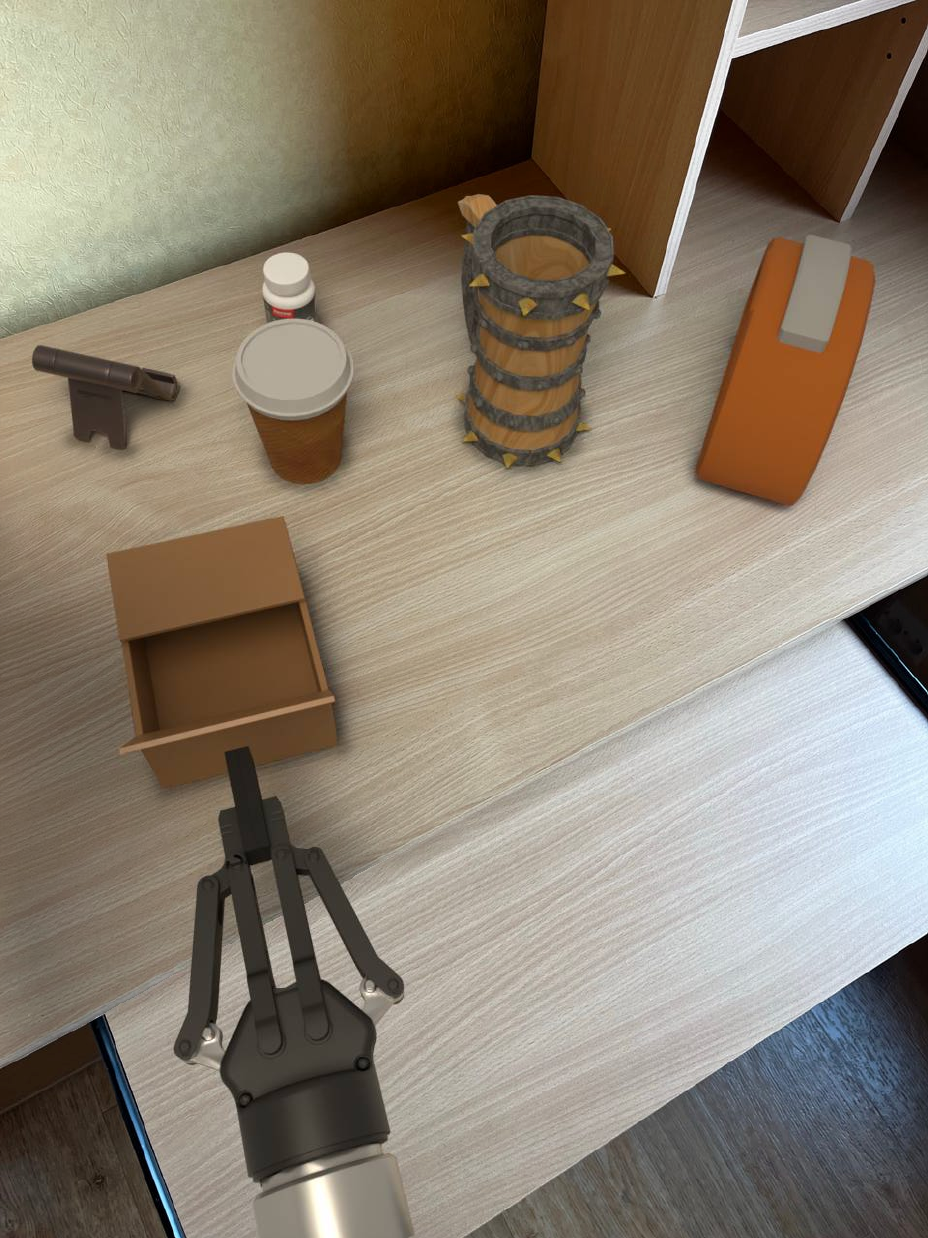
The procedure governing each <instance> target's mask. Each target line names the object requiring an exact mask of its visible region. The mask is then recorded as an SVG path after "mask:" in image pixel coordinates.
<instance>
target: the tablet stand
mask: <svg viewBox="0 0 928 1238" xmlns="http://www.w3.org/2000/svg"><path fill="white" fill-rule="evenodd" d="M31 365H32V368H33V369H34V370H35V371H36V372H40V373H45V374H49V375H53V376H57V377H62V378H66V379H67V383H68V391H69V392H68V393H69V401H70V411H71V421H72V431H73V437H74V438H75V439H76V440H78V441H81V442H85V443H90V442H91V440H90V439H91V431H94V432H98V433H103V434H105V435H106V436H107V439H108V444H109V447H110V448H111V449H115V450H119V451H121V450H125V448H126V446H127V444H126V429H125V418H124V417H125V416H124V414H125V413H124V401H123V391H124V392H129V393H133V394H139V395H144V396H148V397H153V398H155V399H158V400H161V401H169V402H170V401H171V402H173V401H175V400H176V399H177V398H176V397H177V396H178V393H179V382H178V380H177V377H176V374H173V373H169V372H164V371H159V370H155V369H150V368H146V367H142V368H141V367H140V366H138V365H133V364H128V363H124V362H118V361H115V360H110V359H106V358H102V357H97V356H92V355H87V354H83V353H79V352H74V351H69V350H65V349H61V348H57V347H51V346H48V345H43V344H39V345H36V346H35V348H34V350H33V352H32V356H31Z"/></svg>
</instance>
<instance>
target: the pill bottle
mask: <svg viewBox="0 0 928 1238" xmlns="http://www.w3.org/2000/svg"><path fill="white" fill-rule="evenodd" d="M262 272H263V280H264V281H263V284H262V287H261V288H262V289H261V292H262V293H261V295H262V299H263V301H262V302H263V307H264V312H265V320H266V324H267V323H270V322H273V321H277V320H282V319H305V320H310V321H314V322H317V323H319V314H318V304H317V293H316V287H315V283H314V280H313V279H312V277H311V271H310V266H309V263H308V261H307V260H306V259H305V258H304V257H303V256H302V255H300V254H299V253H298V254H297V253H294V252H290V251H289V252H286V251H285V252H279V253H276V254H273V255H272V256H270V257H269V258H268V259H267V260H266V261H265V262H264V264H263V267H262Z"/></svg>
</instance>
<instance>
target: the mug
mask: <svg viewBox="0 0 928 1238" xmlns="http://www.w3.org/2000/svg"><path fill="white" fill-rule="evenodd" d="M457 204H458V207H459V210H460V213H461V216H462V217H464V219H465V220H466V231H465V234H462V235H461V234H460V236H461V238H463V239H465V240H464V247H463V252H462V253H463V254H462V261H461V274H460V278H461V279H460V280H461V281H460V282H461V295H462V307H463V312H464V319H465V326H466V330H467V335H468V340H469V342H470V352H471V353H472V354H474V355H475V356H476V360H475V362H474V363H473V365H472V364H471V365H469V366H468V367H467V369H466V373H467V374H468V375H469V380H468V381H469V382H468V390H467V392H466V393H463V394H454V396H455V397H456V398H458V399H459V400H460V401H461V402H463V403H464V416H463V417H464V418H463V428H464V431H465V432H466V435H465V436H464V437H463V439H462V440H461V442H470V444H472V446H474V447H475V448H476V449H477V450H478V451H479V452H481V453H482V454H483V455H484V456H485V457H486V458H489V459H491V460H492V461H493V460H494V461H496V462H498V463H500V464H504V465H505V468H506V469H508V468H509V467H510V466H511V467H527V468H528V467H530V468H532V467H537V466H541V465H543V464H549V463H551V462H554V461H557V462H559V463H561V464H562V462H563V461H562V457H561V456H563V455H564V454H565V453H566V452H567V451H569V450H570V449H571V447H572V446H573V444H574V442H575V440H576V438H577V436H578V434H579V432H580V431H586V430H592V428H591V427H590V426H588V425H587V424H585V423H584V422H582V421H581V420H582V410H581V409H582V405H581V400H582V399H583V398H585V396H586V389H584V388H583V387H582V375H581V374H582V373H583V371H584V367H583V365H584V363H585V361H586V357H587V352H588V344H589V343H590V342H591V339H592V338H591V337H592V336H591V335H590V334H589V333H588V331H589V329H590V326H591V325H592V323H593V321H594V320H598V319H600V318H601V316H602V310H601V309H600V300H601V298H602V296H603V294H604V292H605V290H606V289H607V287H608V285H609V283H610V277H613V276H619V275H624V274H626V272H625V271H624V270H623V269H620V268H619V267H618V266H616V265H614V264H613V263H614V258H615V250H614V247H615V246H614V236H613V235H612V233H611V230H612V227H611V228H610V227H607V225H606V223H605V222H604V220H603V219H602V218H601V217H599V216H598V215H597V214H595V212H593V211H591V210H590V209H589V208H587V207H586V206H584V205H582V204H580V203H577V202H574V201H571V200H568V199H566V198H562V197H559V196H551V195H550V196H549V195H534V194H533V195H532V194H530V195H525V196H520V197H516V198H511V199H506V200H504V201H502V202H500V203H498V204H497V203H496V202H495V201H494V200H493V198H492V197H491V196H490V195H487V194H482V193H481V194H479V193H478V194H474V195H465V197H464V198H463V199H461V200H458V201H457Z"/></svg>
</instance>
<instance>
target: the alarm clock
mask: <svg viewBox="0 0 928 1238" xmlns="http://www.w3.org/2000/svg"><path fill="white" fill-rule="evenodd" d="M875 286H876V275H875V267H874V264H873V263H872V262H870V260H867V259H864V258H861V257H858V256H857V257H856V256H852V246H851V245H850V244H849V243H845V242H841V241H837V240H833V239H829V238H826V237H822V236H818V235H814V234H808V235H806V236H805V238H804V241H803V242H799V241H796V240H791V239H787V238H784V237H781V236H780V237H773V238H772V239H771V240H770V241H769V242H768V243H767V246H766V248H765V250H764V253H763V256H762V258H761V261H760V263H759V266H758V269H757V271H756V275H755V277H754V280H753V282H752V286H751V289H750V290H749V294H748V297H747V300H746V303H745V305H744V309H743V312H742V315H741V318H740V322H739V324H738V328H737V331H736V335H735V338H734V341H733V344H732V347H731V351H730V354H729V358H728V361H727V364H726V367H725V370H724V374H723V377H722V379H721V384H720V386H719V391H718V394H717V397H716V401H715V403H714V407H713V410H712V412H711V416H710V420H709V422H708V427H707V430H706V433H705V436H704V439H703V441H702V446H701V449H700V451H699V452H700V453H699V456H698V459H697V462H696V465H695V472H696V477H697V478H698V479H700V480H702V481H705V482H708V483H711V484H715V485H718V486H722V487H725V488H729V489H732V490H735V491H739V492H742V493H745V494H749V495H752V496H756V497H760V498H763V499H766V500H770V501H773V502H776V503H779V504H782V505H786V506H794V505H795V504H796V503H797V502H798V501H799V500H800V499H801V497H802V496H803V494H804V492H805V490H806V489H807V487H808V485H809V483H810V481H811V479H812V477H813V475H814V473H815V472H816V469H817V468H818V465H819V463H820V460H821V457H822V455H823V453H824V451H825V448H826V446H827V444H828V442H829V438H830V436H831V434H832V431H833V428H834V426H835V423H836V420H837V418H838V416H839V413H840V410H841V408H842V405H843V401H844V399H845V396H846V394H847V390H848V387H849V384H850V381H851V379H852V375H853V373H854V369H855V366H856V363H857V359H858V357H859V352H860V350H861V346H862V344H863V340H864V337H865V336H864V335H865V331H866V329H867V323H868V319H869V314H870V311H871V306H872V300H873V296H874V290H875Z"/></svg>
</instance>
